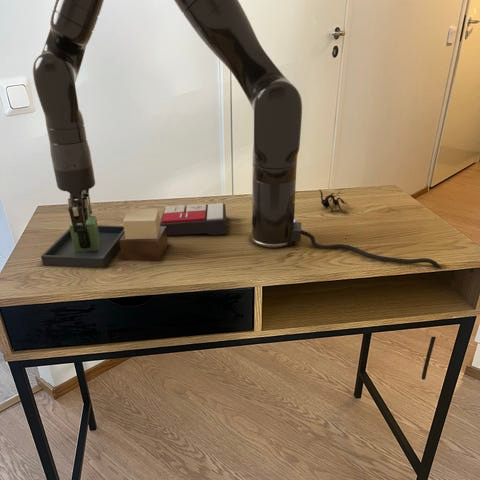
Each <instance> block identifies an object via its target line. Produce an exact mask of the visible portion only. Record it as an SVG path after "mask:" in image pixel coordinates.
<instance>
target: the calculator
mask: <svg viewBox="0 0 480 480" xmlns="http://www.w3.org/2000/svg"><path fill="white" fill-rule="evenodd" d="M161 215H162V216H161V218H160V226H166V229H167V237H171V236H172V237H173V236H185V235H199V234H207V235H209V236H219V235H220V236H222V235H227V210H226V203H223V202H219V203H218V202H217V203H208V204H207V203H193V204H191V203H190V204H186V205H185V204H178V205H166V206H165V207H164V209H163V212H162V214H161Z"/></svg>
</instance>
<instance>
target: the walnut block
mask: <svg viewBox="0 0 480 480" xmlns="http://www.w3.org/2000/svg"><path fill="white" fill-rule="evenodd" d="M119 241H120V254H121V259H122V260H124V261H147V262H160V261H161V259H162V257H163V255H164V253H165V251H166V249H167V248H168V246H169V241H168V236H167V229H166V226H160V230H159V233H158V237H157V239H125V233H124V235H123V236H122V237H121V238H120V240H119Z"/></svg>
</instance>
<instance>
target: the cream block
mask: <svg viewBox="0 0 480 480" xmlns="http://www.w3.org/2000/svg"><path fill="white" fill-rule="evenodd" d="M160 222H161V218H160V210H159V208H149V209H145V208H144V209H142V208H141V209H127V211H126V213H125V216H124V218H123V220H122V224H123V225H122V226H124V232H125V239H157V237H158V233H159V230H160Z"/></svg>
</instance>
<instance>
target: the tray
mask: <svg viewBox="0 0 480 480" xmlns="http://www.w3.org/2000/svg"><path fill="white" fill-rule="evenodd" d="M97 225H98V230H99V236H100V245H99V250H98V251H84V252H75V251H74V246H73V241H72V236H71V231H70V227H69V228H68V229H67V230H66V231H65V232H64V233H62V235H60V237H59V238H58V239H57V240H55V241H54V243H53V244H52V245H51V246H49V248H48V249H46V251H44V252H43V253H42V254H41V255H40V258H41V262H42V266H50V267H51V266H54V267H74V268H75V267H76V268H99V269H100V268H101V269H104V268H106V267H107V265H108V264H109V263H110V261H111V260H112V259H113V258H114V256H115V255H116V253H117V252H118V251H119V249H121V247H120V241H119V240H120V238H121V237H122V236H123V235H124V233H125V232H124V225H99V224H97Z"/></svg>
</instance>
